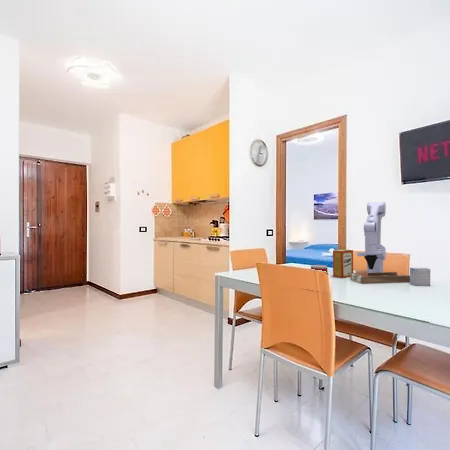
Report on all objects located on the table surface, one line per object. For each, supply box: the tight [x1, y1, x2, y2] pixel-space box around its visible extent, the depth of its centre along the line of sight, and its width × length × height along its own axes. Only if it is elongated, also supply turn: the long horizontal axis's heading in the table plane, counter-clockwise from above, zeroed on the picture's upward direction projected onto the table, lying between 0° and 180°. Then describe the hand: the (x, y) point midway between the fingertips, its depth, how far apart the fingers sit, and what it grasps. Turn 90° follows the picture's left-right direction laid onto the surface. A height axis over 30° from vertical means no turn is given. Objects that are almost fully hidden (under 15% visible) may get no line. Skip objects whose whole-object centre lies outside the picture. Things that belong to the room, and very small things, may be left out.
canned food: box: [310, 264, 328, 273], centre depth 152 cm, size 8×8×11 cm
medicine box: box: [409, 267, 431, 287], centre depth 156 cm, size 8×4×9 cm, turn 84°
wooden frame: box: [350, 271, 410, 285], centre depth 168 cm, size 12×27×4 cm, turn 95°
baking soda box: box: [332, 249, 354, 279], centre depth 182 cm, size 10×6×16 cm
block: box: [355, 270, 368, 277], centre depth 167 cm, size 4×4×4 cm
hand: (370, 269), depth 168 cm, fingers closed
